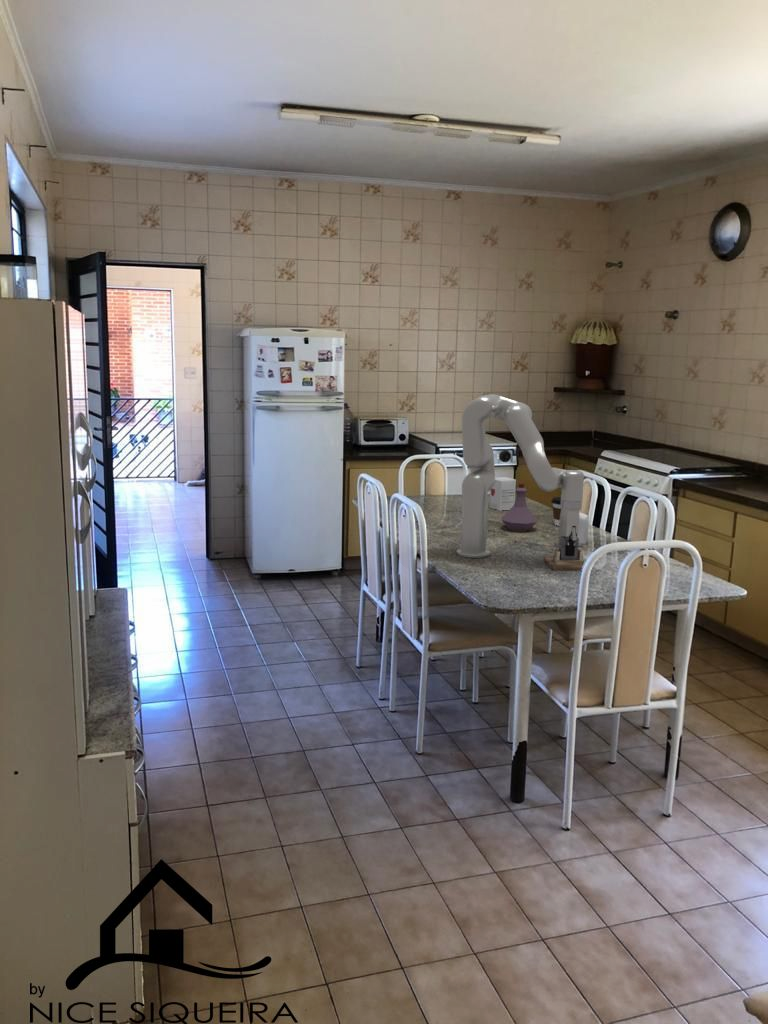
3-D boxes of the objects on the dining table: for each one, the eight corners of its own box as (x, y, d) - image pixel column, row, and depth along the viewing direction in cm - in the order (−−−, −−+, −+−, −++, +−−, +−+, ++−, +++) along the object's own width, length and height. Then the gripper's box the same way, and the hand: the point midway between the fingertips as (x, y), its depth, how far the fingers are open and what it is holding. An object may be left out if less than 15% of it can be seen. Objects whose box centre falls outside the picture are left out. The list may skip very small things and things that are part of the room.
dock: (543, 559, 303) (544, 545, 302) (580, 560, 304) (581, 545, 303) (553, 570, 289) (554, 555, 288) (591, 570, 290) (593, 555, 289)
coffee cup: (568, 529, 352) (570, 502, 350) (545, 525, 359) (547, 499, 356) (579, 525, 361) (580, 498, 359) (556, 521, 367) (558, 495, 365)
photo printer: (588, 542, 330) (590, 512, 328) (584, 544, 327) (587, 514, 324) (564, 538, 336) (566, 509, 333) (560, 540, 333) (562, 511, 330)
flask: (507, 534, 342) (509, 487, 338) (494, 525, 358) (496, 480, 354) (544, 533, 346) (547, 486, 341) (529, 524, 361) (532, 480, 357)
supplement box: (488, 508, 395) (490, 477, 392) (503, 506, 399) (505, 476, 396) (499, 511, 387) (501, 480, 384) (514, 510, 391) (516, 479, 388)
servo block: (553, 556, 298) (554, 533, 296) (578, 557, 298) (580, 533, 296) (556, 559, 294) (557, 536, 292) (582, 559, 294) (583, 536, 292)
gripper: (554, 500, 300) (551, 548, 304) (567, 509, 283) (563, 560, 287) (574, 500, 300) (571, 548, 304) (588, 509, 284) (584, 560, 288)
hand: (567, 553), depth 296 cm, fingers closed on servo block, 3 cm apart
